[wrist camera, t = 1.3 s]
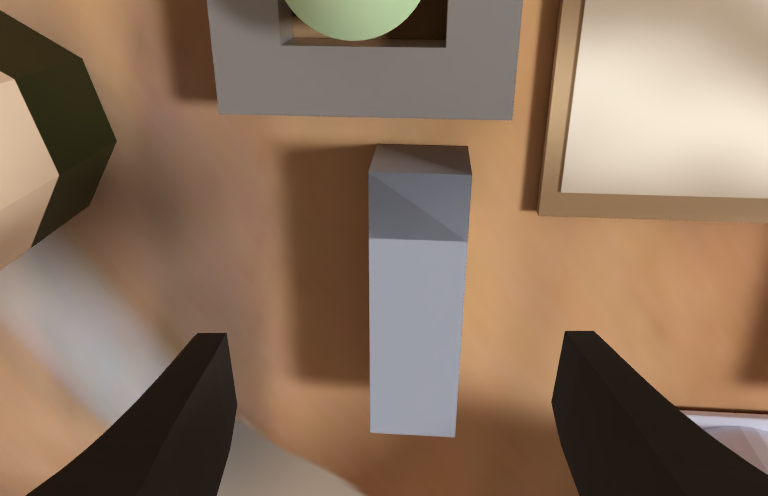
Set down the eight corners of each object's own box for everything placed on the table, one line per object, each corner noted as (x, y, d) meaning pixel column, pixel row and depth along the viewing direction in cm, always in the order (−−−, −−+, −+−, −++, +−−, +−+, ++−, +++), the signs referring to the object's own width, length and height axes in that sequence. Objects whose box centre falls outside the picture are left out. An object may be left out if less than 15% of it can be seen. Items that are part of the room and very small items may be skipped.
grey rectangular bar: (452, 384, 29) (455, 437, 25) (377, 381, 29) (370, 432, 26) (467, 146, 24) (472, 174, 21) (377, 143, 24) (368, 171, 21)
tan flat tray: (833, 220, 24) (848, 230, 23) (536, 211, 25) (540, 220, 24) (982, -238, 18) (1011, -248, 17) (586, -232, 19) (593, -241, 18)
